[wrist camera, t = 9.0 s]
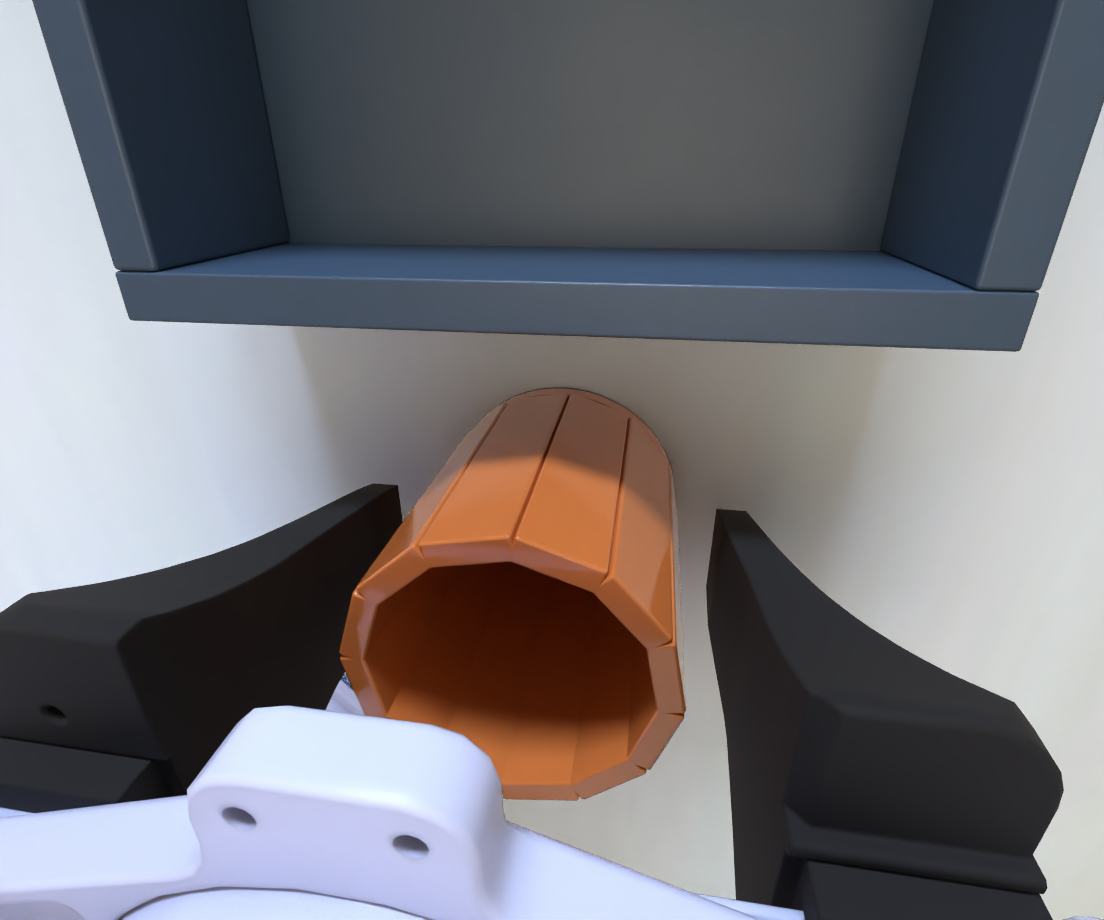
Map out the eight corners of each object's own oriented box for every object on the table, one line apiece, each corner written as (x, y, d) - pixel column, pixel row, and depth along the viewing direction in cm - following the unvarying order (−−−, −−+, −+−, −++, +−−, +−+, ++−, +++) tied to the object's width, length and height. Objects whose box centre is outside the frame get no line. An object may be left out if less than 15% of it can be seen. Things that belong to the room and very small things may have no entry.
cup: (554, 610, 17) (499, 836, 11) (416, 470, 16) (277, 646, 10) (719, 511, 15) (756, 728, 9) (576, 340, 14) (514, 469, 8)
